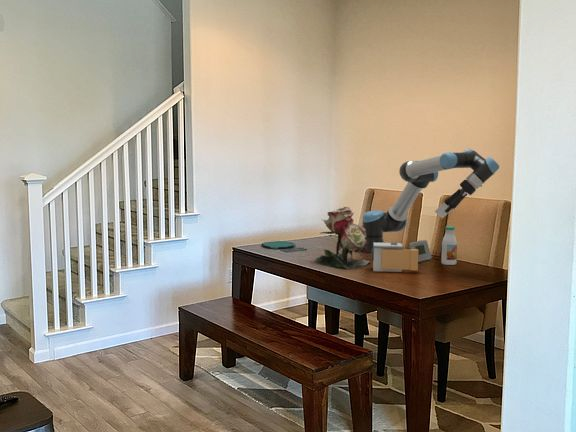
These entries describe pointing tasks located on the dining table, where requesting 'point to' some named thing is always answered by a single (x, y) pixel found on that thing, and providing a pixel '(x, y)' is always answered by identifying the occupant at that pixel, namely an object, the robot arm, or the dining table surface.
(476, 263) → the dining table surface
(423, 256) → the digital clock
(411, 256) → the tan long-handled part
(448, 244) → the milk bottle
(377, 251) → the box
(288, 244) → the cutlery set
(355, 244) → the rose bouquet
